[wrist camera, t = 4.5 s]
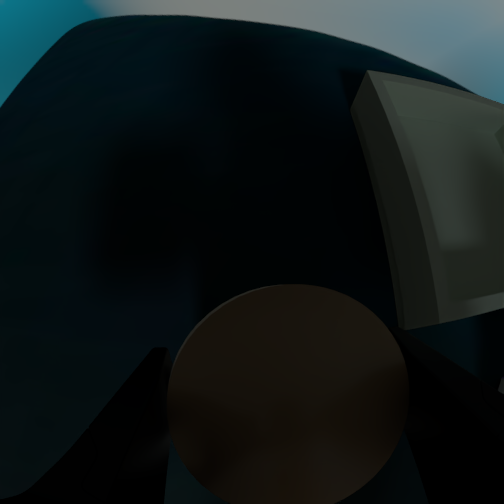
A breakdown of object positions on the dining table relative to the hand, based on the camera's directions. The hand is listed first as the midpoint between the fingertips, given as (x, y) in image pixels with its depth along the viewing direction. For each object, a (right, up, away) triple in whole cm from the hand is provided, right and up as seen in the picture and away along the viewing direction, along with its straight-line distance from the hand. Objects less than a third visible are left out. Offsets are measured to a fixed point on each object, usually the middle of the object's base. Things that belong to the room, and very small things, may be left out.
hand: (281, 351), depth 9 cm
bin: (+14, +6, +10) cm, 18 cm away
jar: (0, -3, +6) cm, 7 cm away
